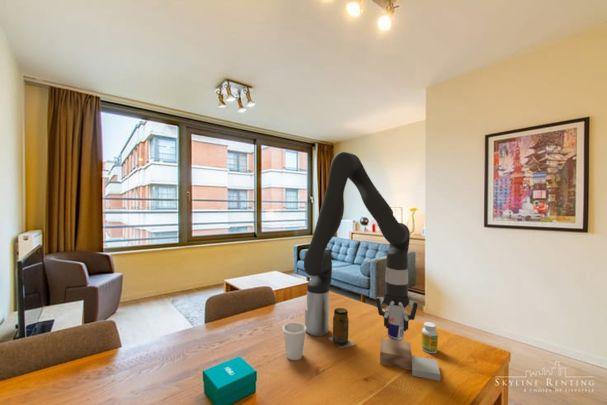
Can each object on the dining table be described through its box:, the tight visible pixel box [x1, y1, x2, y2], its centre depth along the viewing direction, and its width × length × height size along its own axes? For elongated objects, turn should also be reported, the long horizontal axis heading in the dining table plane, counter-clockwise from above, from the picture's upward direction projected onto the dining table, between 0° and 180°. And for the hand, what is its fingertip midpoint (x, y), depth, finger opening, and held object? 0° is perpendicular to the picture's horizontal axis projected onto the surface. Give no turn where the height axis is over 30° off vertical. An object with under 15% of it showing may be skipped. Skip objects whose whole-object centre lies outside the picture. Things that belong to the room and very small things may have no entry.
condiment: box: [327, 307, 356, 349], centre depth 107 cm, size 7×8×12 cm
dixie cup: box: [282, 321, 307, 361], centre depth 97 cm, size 8×8×10 cm
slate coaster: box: [411, 355, 441, 382], centre depth 89 cm, size 8×8×2 cm
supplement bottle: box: [421, 321, 439, 354], centre depth 101 cm, size 5×5×10 cm
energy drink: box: [387, 305, 405, 341], centre depth 95 cm, size 5×5×12 cm
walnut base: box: [379, 337, 413, 371], centre depth 96 cm, size 10×10×4 cm
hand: (395, 328), depth 96 cm, fingers closed on energy drink, 5 cm apart
